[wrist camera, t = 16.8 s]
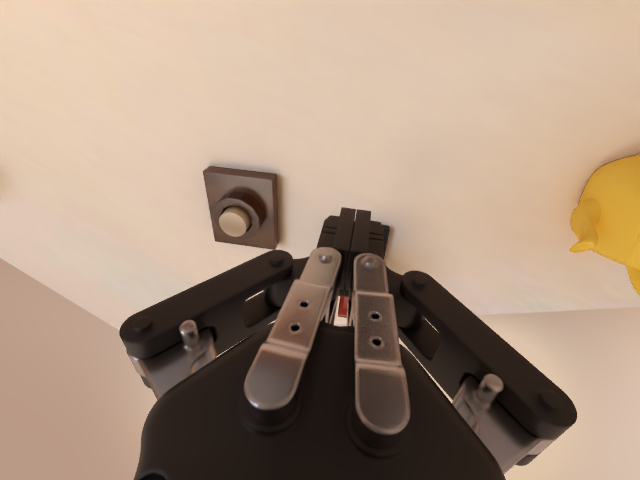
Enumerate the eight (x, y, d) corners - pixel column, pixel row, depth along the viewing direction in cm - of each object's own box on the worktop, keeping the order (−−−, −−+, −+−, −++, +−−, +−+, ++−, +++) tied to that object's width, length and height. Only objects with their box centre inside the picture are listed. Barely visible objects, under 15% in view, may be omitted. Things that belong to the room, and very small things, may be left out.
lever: (321, 271, 30) (317, 296, 30) (384, 280, 30) (382, 306, 29) (326, 296, 43) (323, 314, 42) (370, 303, 43) (368, 321, 42)
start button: (222, 204, 45) (216, 210, 44) (249, 208, 45) (245, 214, 43) (225, 228, 47) (220, 234, 46) (251, 231, 47) (247, 238, 45)
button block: (209, 166, 46) (195, 177, 43) (276, 173, 45) (267, 185, 42) (220, 234, 53) (209, 248, 50) (278, 242, 52) (271, 257, 48)
